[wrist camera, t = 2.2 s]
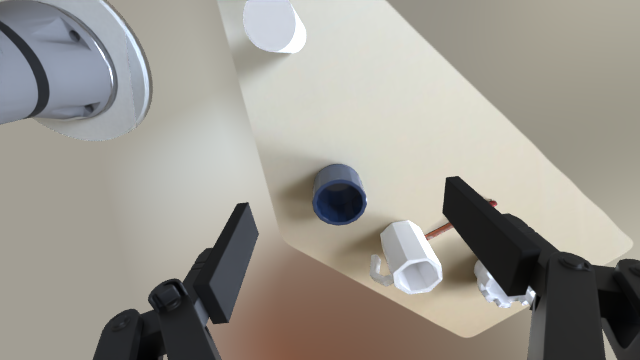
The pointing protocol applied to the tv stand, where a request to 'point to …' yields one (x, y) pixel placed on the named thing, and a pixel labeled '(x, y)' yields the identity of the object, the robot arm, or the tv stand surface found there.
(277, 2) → the tube
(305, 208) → the tv stand surface
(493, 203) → the pencil
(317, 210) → the cup
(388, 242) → the mug
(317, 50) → the tv stand surface
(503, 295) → the flag stand
